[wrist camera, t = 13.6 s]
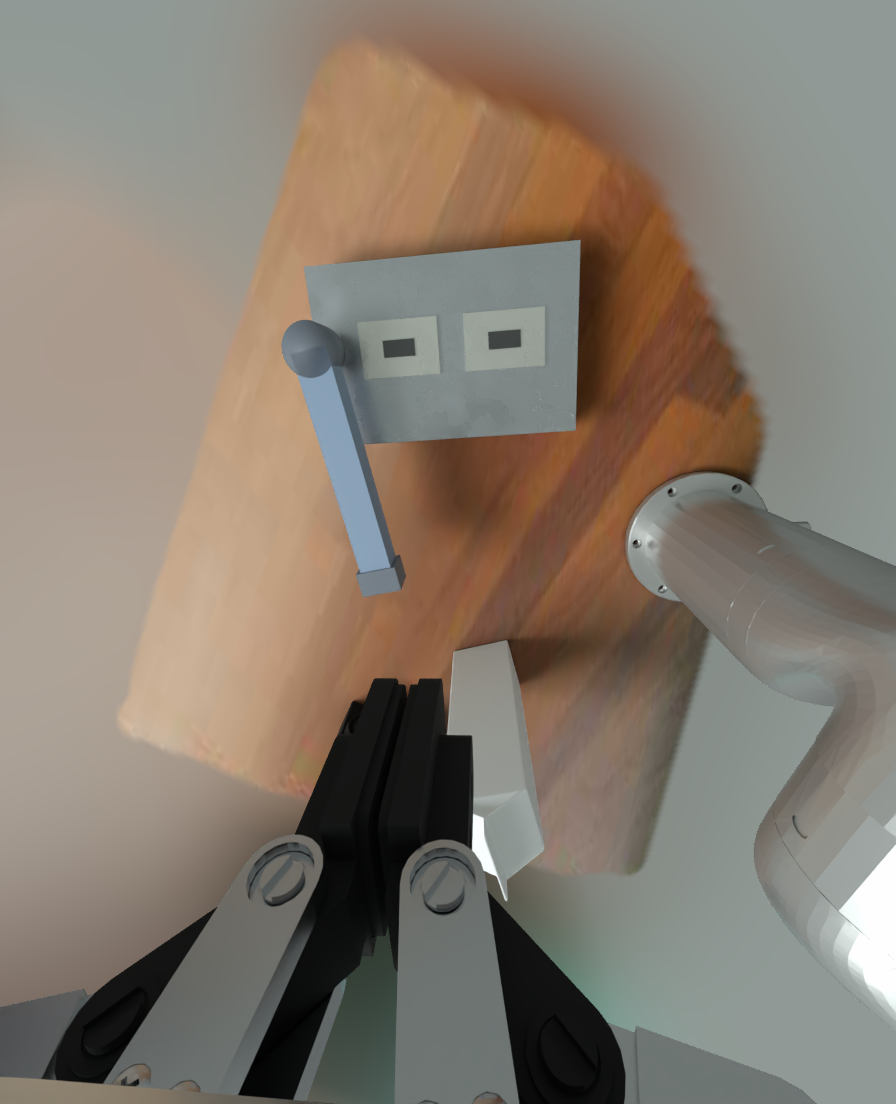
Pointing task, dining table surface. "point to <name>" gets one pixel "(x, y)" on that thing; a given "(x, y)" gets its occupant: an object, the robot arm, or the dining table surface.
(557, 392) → the plate
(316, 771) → the dining table surface
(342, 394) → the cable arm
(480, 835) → the milk
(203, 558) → the dining table surface
